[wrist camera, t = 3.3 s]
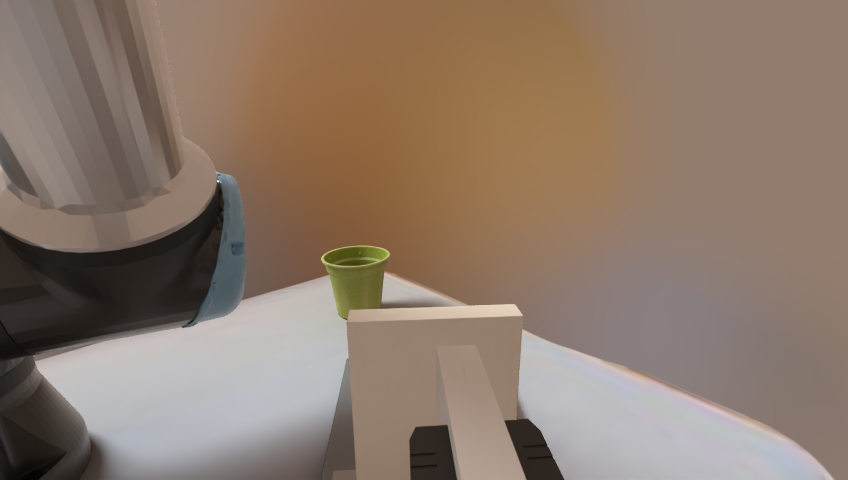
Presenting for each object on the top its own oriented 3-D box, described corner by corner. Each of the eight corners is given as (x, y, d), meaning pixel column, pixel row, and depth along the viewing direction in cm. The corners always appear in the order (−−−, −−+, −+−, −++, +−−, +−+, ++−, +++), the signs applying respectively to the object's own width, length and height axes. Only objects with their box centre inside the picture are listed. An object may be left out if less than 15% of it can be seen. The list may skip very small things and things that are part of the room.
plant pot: (345, 334, 51) (341, 271, 49) (315, 309, 58) (310, 253, 56) (404, 313, 57) (402, 256, 55) (370, 293, 64) (367, 241, 62)
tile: (510, 508, 26) (522, 315, 23) (359, 518, 26) (346, 322, 22) (503, 485, 28) (514, 303, 24) (361, 494, 27) (350, 308, 24)
